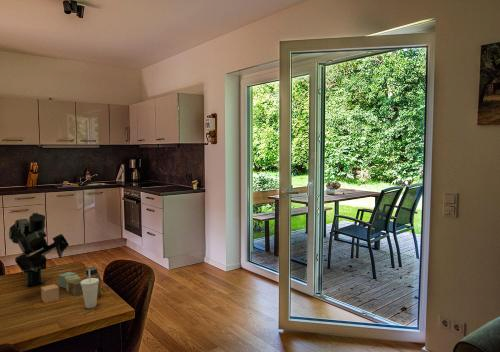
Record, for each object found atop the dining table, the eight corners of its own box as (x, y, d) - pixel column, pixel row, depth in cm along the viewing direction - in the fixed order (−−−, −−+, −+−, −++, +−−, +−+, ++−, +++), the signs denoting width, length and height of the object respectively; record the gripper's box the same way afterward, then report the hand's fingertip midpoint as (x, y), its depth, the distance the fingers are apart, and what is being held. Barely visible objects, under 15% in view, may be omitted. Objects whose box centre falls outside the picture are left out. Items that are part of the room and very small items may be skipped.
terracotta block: (41, 299, 145) (40, 287, 145) (55, 296, 148) (54, 283, 148) (45, 303, 141) (44, 290, 141) (59, 299, 145) (58, 287, 144)
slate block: (59, 286, 159) (58, 275, 158) (69, 282, 163) (69, 271, 163) (67, 288, 156) (66, 277, 156) (77, 284, 161) (76, 273, 160)
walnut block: (68, 293, 150) (68, 281, 150) (80, 290, 154) (80, 278, 154) (75, 296, 147) (74, 284, 147) (87, 292, 151) (86, 280, 151)
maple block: (65, 288, 156) (64, 277, 156) (78, 286, 159) (77, 274, 158) (67, 292, 152) (66, 280, 151) (80, 289, 155) (79, 278, 154)
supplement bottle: (94, 299, 144) (93, 271, 143) (81, 298, 145) (79, 270, 144) (103, 293, 149) (102, 266, 149) (90, 293, 151) (89, 265, 150)
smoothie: (82, 311, 134) (80, 273, 132) (81, 304, 139) (79, 268, 138) (101, 307, 136) (99, 270, 135) (99, 301, 142) (97, 265, 141)
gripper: (3, 241, 144) (12, 265, 134) (52, 216, 152) (63, 237, 143) (17, 258, 151) (27, 282, 141) (63, 234, 159) (75, 255, 150)
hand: (48, 264), depth 144 cm, fingers open, 9 cm apart
